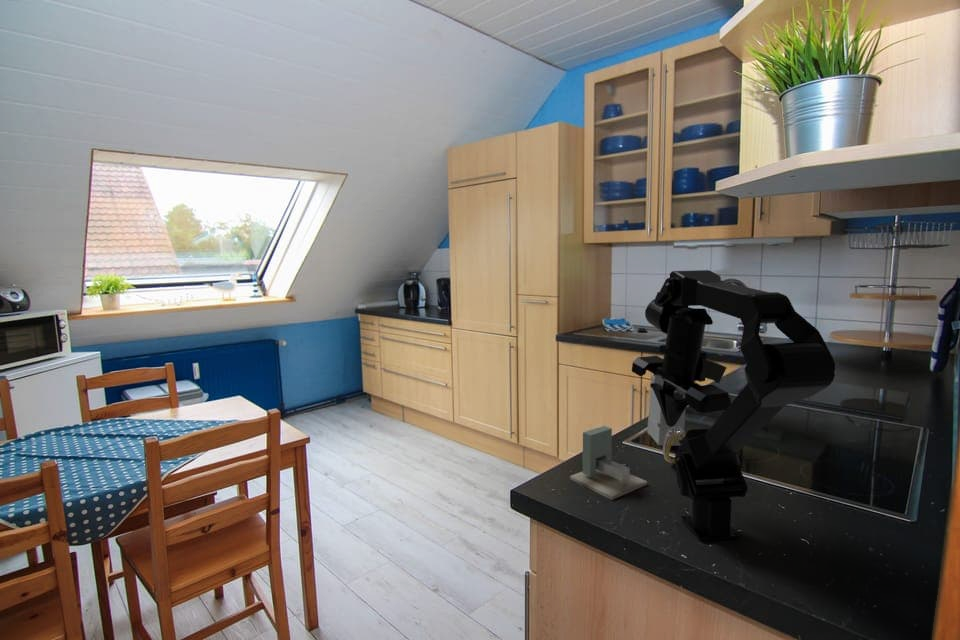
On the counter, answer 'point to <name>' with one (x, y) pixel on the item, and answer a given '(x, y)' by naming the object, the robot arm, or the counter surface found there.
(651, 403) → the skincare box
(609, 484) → the guide board
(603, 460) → the grey square-edged bar
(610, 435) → the sleeve collar
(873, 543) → the counter surface
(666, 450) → the ring
